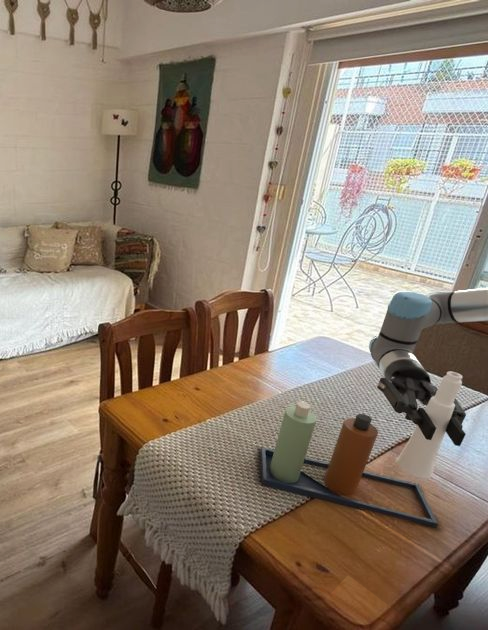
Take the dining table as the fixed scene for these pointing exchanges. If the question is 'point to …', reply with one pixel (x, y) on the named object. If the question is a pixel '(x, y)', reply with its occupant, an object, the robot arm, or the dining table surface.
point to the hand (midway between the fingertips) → (445, 436)
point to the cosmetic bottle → (423, 452)
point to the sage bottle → (293, 442)
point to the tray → (319, 491)
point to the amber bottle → (350, 455)
